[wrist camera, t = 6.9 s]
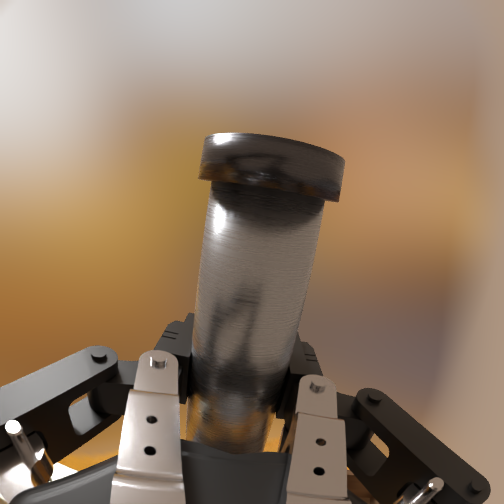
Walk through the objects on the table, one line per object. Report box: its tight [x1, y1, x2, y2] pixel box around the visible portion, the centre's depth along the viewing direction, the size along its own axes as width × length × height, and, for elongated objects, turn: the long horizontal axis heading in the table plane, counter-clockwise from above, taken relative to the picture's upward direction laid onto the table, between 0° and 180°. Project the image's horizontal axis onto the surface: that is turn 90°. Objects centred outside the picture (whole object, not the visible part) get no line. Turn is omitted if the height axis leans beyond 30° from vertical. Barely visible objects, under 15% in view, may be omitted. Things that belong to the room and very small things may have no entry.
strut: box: [186, 133, 345, 454], centre depth 10 cm, size 5×5×18 cm
